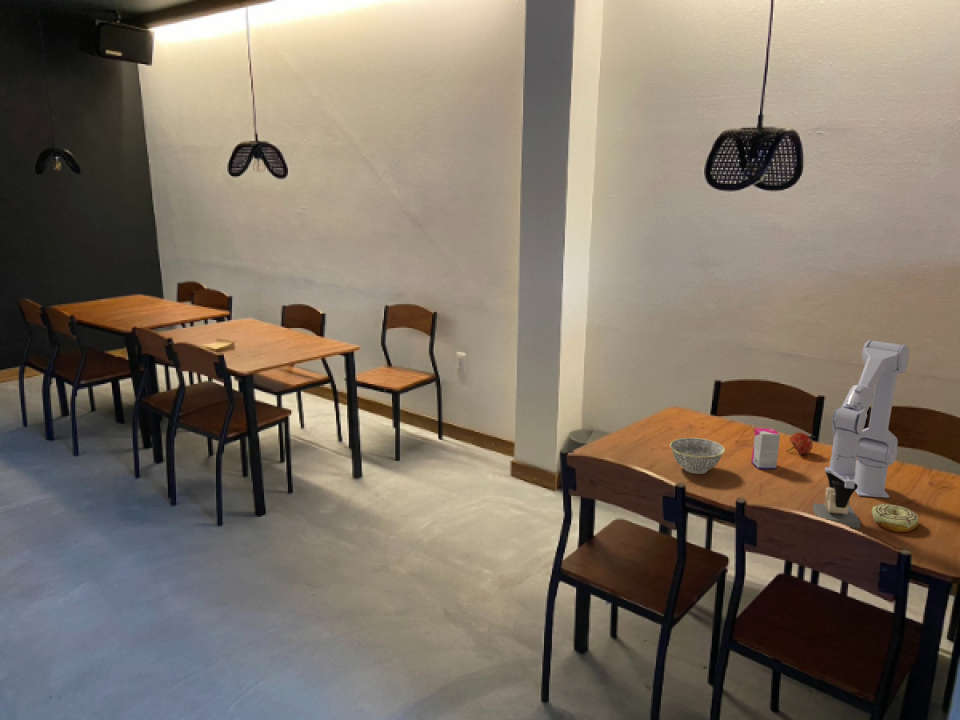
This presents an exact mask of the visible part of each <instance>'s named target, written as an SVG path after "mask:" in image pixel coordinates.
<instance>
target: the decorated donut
mask: <svg viewBox="0 0 960 720" xmlns="http://www.w3.org/2000/svg"><path fill="white" fill-rule="evenodd" d="M871 515H872V519H873V520H874V522H875V523H876V524H878V525H879V526H880V527H881V528H883V529H886V530H889V531H890V532H891V531H892V532H894V533H909V532H912V531H913V530H914V529H916V528H917V526H918V525H919V519H920V518H919V516H918V514H917V513H916V512H914V511H913V510H911V509H910V508H907V507H904V506H901V505H894V504H887V503H881V504H877V505H874V506H873V507H872V510H871Z"/></svg>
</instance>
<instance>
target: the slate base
mask: <svg viewBox="0 0 960 720" xmlns="http://www.w3.org/2000/svg"><path fill="white" fill-rule="evenodd" d="M824 504H825V503H815V502H814V503H813V507H812V511H813V513H814V514H815V516H816V517H817V516H819V517H821V518H825V519H827V520H831V521H835V522H838V523H842V524H845V525H847V526H850V527H852V528H851V529H854V528H855V529H857V530H860V529H861V522H862V521H861V520H860V519H859V517H858V516H857V514H856V512H855V511H854V509H853V508H852V507H851V505H849V508H848V514H843V513H830V512H828V510H827V508H826V507H825V505H824Z"/></svg>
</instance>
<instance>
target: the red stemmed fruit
mask: <svg viewBox="0 0 960 720" xmlns="http://www.w3.org/2000/svg"><path fill="white" fill-rule="evenodd" d="M813 438H816V436H815V435H808V434H806V433H804V432H800V431H798V432H797V431H796V432H795V433H793V434H792V435H791V436H790V438H789V442H790V444H792V445H793V447H791V448H789V449H787V450H785V452H789V451H792V450H793V449H794V450H796V451H797V452H798V454H799V455H801V456H804V455H808V454H809V453H810V452H812V449H813V448H814V447H813V445H814V443H813V441H812V439H813Z"/></svg>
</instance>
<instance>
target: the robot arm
mask: <svg viewBox="0 0 960 720" xmlns="http://www.w3.org/2000/svg"><path fill="white" fill-rule="evenodd" d="M861 354H862V355H861V359H862V361H863V362H862V363H863V365H864V367H863V370H862V373H861V375H860V377H859V381H858V383H857V384H855V385H853V386H851V387H850V389H849V391H848V393H847V395H846V397H845V399H844V401H843V403H842V404H841V406H840V407H837V408H835V410H834V411H833V414H832V419H831V426H832V427H831V428H832V432H831V433H832V435H833V441H832V448H831V456H830V457H831V458H830V461H829V467H824V471H825V472H824V473H825V474H826V477H827V481H828V486H829V488H834V489H835V502H836V507H839V508H845V507H846V506H847V503H848V501H849V499H850V498H851V497H852V494H854V493H856V494H857V496H859V497H871V498H885V499H889V498H890V495H889V494H888V493H887V491H886V483H887V482H886V481H887V475H888V468H889V466H892V465H893V464H894V463H895V461H896V460H897V459H896V458H897V457H898V449H899V448H898V443H899V441H898V438H897V436H896V435H895V434H893V433H892V432H891V431H890V430H889V425H890V420H891V419H890V418H891V413H892V407H893V403H894V397H895V391H896V385H897V379H898V377H899V374H903V373H906V370H907V368H908V362H909V358H910V357H909V356H910V349H909V347H908V346H907V344H900V343H899V344H898V343H893V342H884V341H877V340H873V339H869V340H867V341H866V342H865V343H864V344H863V348H862V353H861ZM873 390H874V391H873ZM871 405H872V406H871ZM870 406H871V411H870V416H869V417H870V418H869V423H868V427H866V428H865V425H866V421H867V417H868V414H867V413H868V410H869V408H870ZM850 500H851V499H850ZM849 502H850V501H849Z"/></svg>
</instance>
